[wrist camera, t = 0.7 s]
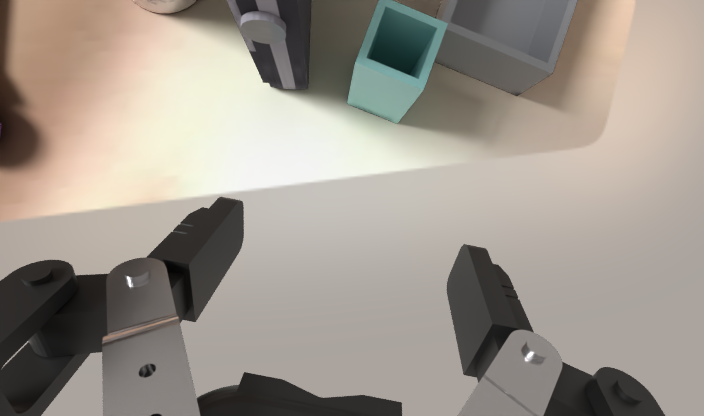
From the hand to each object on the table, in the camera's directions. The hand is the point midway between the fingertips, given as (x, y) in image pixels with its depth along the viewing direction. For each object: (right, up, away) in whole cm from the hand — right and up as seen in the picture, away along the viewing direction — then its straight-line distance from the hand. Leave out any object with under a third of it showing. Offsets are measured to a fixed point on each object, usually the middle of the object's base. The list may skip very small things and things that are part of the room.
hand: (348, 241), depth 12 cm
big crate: (+16, +23, +26) cm, 39 cm away
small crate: (+3, +14, +25) cm, 29 cm away
